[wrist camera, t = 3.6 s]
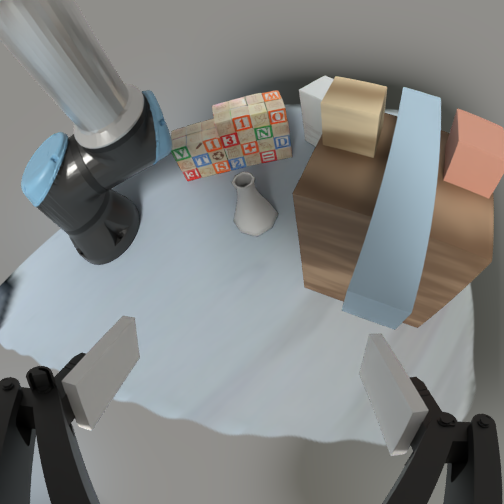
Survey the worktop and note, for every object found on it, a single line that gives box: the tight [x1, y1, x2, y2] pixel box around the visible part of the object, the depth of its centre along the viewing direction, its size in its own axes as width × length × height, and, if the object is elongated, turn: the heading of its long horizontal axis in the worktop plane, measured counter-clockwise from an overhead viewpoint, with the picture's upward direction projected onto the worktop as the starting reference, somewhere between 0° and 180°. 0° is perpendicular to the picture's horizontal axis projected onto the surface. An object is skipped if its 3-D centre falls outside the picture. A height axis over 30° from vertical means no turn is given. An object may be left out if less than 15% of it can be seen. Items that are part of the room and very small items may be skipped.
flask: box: [232, 172, 278, 237], centre depth 47 cm, size 7×7×10 cm
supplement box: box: [299, 76, 334, 147], centre depth 52 cm, size 7×7×13 cm
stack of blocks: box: [171, 91, 292, 181], centre depth 54 cm, size 21×6×12 cm, turn 98°
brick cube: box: [443, 109, 504, 199], centre depth 21 cm, size 5×5×5 cm
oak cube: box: [321, 76, 387, 158], centre depth 25 cm, size 5×5×5 cm
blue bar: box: [342, 87, 441, 330], centre depth 21 cm, size 22×4×4 cm, turn 153°
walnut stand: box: [293, 113, 494, 328], centre depth 34 cm, size 14×18×22 cm
